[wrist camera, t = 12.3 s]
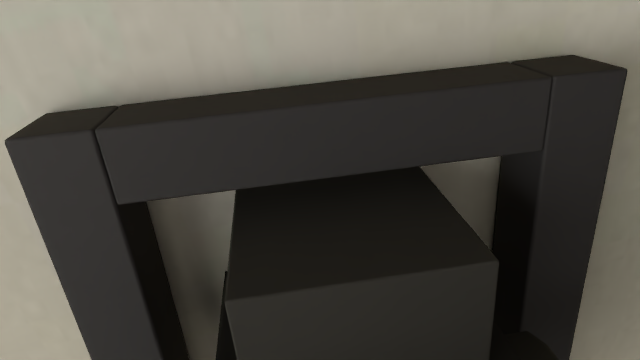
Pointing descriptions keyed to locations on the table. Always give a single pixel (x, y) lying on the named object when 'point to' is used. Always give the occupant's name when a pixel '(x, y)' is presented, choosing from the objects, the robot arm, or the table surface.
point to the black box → (357, 272)
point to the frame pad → (318, 163)
